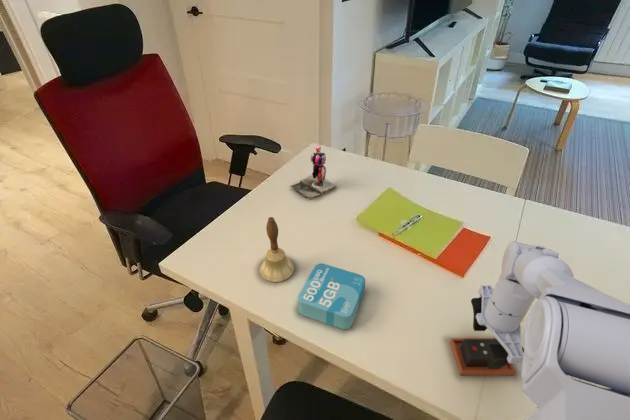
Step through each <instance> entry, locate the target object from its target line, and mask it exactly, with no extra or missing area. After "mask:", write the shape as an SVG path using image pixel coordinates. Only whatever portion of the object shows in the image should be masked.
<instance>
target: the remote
mask: <svg viewBox="0 0 630 420" xmlns="http://www.w3.org/2000/svg"><path fill="white" fill-rule="evenodd" d="M489 344H500V343H499V341H498V340H497V339H463V342H462V344H461V346H460V350H461V353H462V356H463V359H464V362H465V365H466V367H488V366H487V362H488V359H489V356H490V348H489ZM502 367H503V366H502Z"/></svg>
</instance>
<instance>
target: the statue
mask: <svg viewBox="0 0 630 420" xmlns="http://www.w3.org/2000/svg"><path fill="white" fill-rule="evenodd" d="M315 151H316V152H313V153H311V155H310V162H311V163H312V165H313V166H312V174H311V176H309V177H307V178H304V179H301V180H299V182H298V183H295V184H292V185H290V186H289V187H290V188H292V189H294V190H295V192H296V194H299V196H301V197H302V198H309V199H311V198H314V197H317V196H321V195H322V193H323V192H325V193H328V192H329V190H330V189H331V190H332V191H334V189H335V187H336V186H337V185H336V184H334V183H333V182H331V181H329V180H327V179H326V174H327V167H326V166H325V164H326V161H327V157H326V155H327V154H325V152H321V151H322V147H321V146H320V145H316V147H315Z"/></svg>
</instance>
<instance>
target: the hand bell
mask: <svg viewBox="0 0 630 420" xmlns="http://www.w3.org/2000/svg"><path fill="white" fill-rule="evenodd" d="M265 231H266V234H267V237H268V239H269V243H270V249H268V250H267V252H266V254H265V259H264V261H263V262H262V263H261V264H260V268H259V274H260V276H261V277H262V279H264V280H265V281H267V282H271V283H280V282H284V281H286V280H288V279H290V278H291V276H292V275H294V271H295V265H294V263H293V261H292V260H291V259H290V258H289V257H287V256H286V252H285V251H284V249H283V248H281V247H279V245H278V237H279V226H278V223H277V222H276V220H275V218H274V217H273V216H270V217H268V218H267V223H266V230H265Z"/></svg>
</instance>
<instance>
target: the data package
mask: <svg viewBox="0 0 630 420" xmlns="http://www.w3.org/2000/svg"><path fill="white" fill-rule="evenodd" d="M365 286H366V278H365V276H363V275H362V274H359V273H356V272H352V271H349V270H347V269H343V268H339V267H336V266H332V265H330V264H327V263H323V262H321V263H317V264H315V265H314V267H313V268H312V270H311V272H310V274H309V276H308V278H307V279H306V281H305V283H304V285H303V286H302V289H301V290H300V292H299V294H298V296H297V302H298V312H299V314H300V315H302V316H304V317H306V318H310V319H312V320H315V321H318V322H321V323H324V324H326V325H330V326H332V327H335V328H337V329H340V330H348V329H350V328H351V327H352V325H353V322H354V321H355V317H356V315H357V312H358V310H359V308H360V305H361V302H362V299H363V297H364V294H365Z"/></svg>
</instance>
